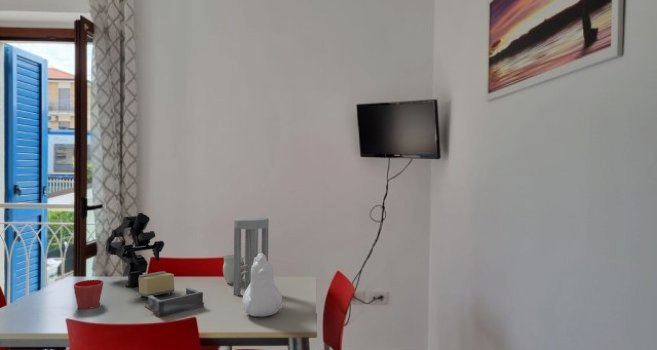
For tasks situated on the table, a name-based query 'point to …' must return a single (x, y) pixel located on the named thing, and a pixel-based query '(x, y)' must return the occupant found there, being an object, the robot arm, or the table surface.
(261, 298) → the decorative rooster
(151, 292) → the yellow box
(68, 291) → the table surface
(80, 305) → the flower pot
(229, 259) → the pitcher
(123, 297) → the table surface
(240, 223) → the stool
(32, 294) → the table surface
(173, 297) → the dock
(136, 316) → the table surface
